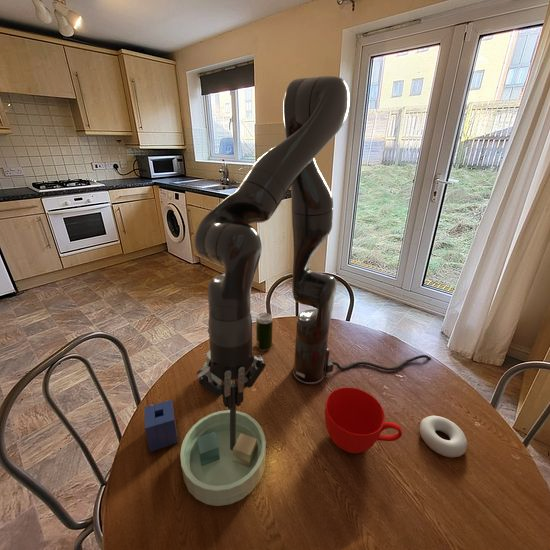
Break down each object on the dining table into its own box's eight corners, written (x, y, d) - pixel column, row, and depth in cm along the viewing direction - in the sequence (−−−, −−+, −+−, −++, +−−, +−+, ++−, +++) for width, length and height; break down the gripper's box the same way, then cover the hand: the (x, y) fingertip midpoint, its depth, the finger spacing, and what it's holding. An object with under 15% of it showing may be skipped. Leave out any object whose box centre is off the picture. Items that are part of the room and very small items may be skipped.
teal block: (216, 443, 67) (214, 431, 65) (219, 459, 64) (218, 447, 62) (198, 449, 66) (196, 437, 64) (201, 466, 62) (199, 454, 61)
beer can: (261, 353, 97) (261, 323, 92) (253, 344, 101) (253, 315, 96) (275, 347, 100) (275, 318, 95) (266, 339, 104) (267, 310, 99)
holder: (175, 422, 72) (171, 399, 69) (178, 444, 67) (174, 419, 64) (149, 430, 70) (144, 406, 67) (150, 453, 65) (144, 428, 62)
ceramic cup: (395, 483, 61) (405, 451, 56) (316, 454, 66) (319, 423, 62) (395, 430, 72) (403, 401, 68) (327, 409, 77) (331, 381, 73)
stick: (234, 444, 64) (235, 382, 57) (236, 449, 63) (236, 386, 56) (229, 446, 64) (229, 384, 57) (231, 451, 63) (230, 388, 56)
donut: (469, 467, 64) (459, 428, 73) (474, 457, 63) (463, 419, 71) (420, 452, 67) (416, 416, 75) (423, 442, 65) (419, 407, 74)
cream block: (256, 450, 66) (257, 438, 64) (249, 467, 62) (250, 455, 60) (240, 444, 67) (240, 432, 65) (232, 460, 63) (232, 448, 62)
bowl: (250, 417, 74) (250, 401, 72) (277, 485, 60) (278, 468, 57) (178, 440, 68) (176, 424, 66) (189, 524, 53) (186, 506, 51)
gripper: (194, 354, 46) (202, 431, 53) (274, 336, 51) (271, 408, 58) (188, 328, 52) (195, 400, 59) (259, 314, 57) (258, 382, 64)
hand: (233, 403), depth 58 cm, fingers closed on stick, 1 cm apart
